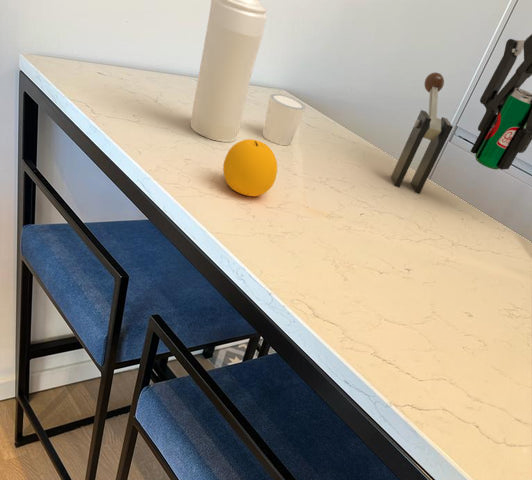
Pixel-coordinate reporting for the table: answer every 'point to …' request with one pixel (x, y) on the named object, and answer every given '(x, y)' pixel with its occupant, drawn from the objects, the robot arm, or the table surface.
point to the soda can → (505, 128)
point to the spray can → (227, 67)
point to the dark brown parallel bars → (428, 157)
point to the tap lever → (433, 104)
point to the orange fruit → (250, 168)
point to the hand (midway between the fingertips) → (489, 159)
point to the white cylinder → (282, 119)
